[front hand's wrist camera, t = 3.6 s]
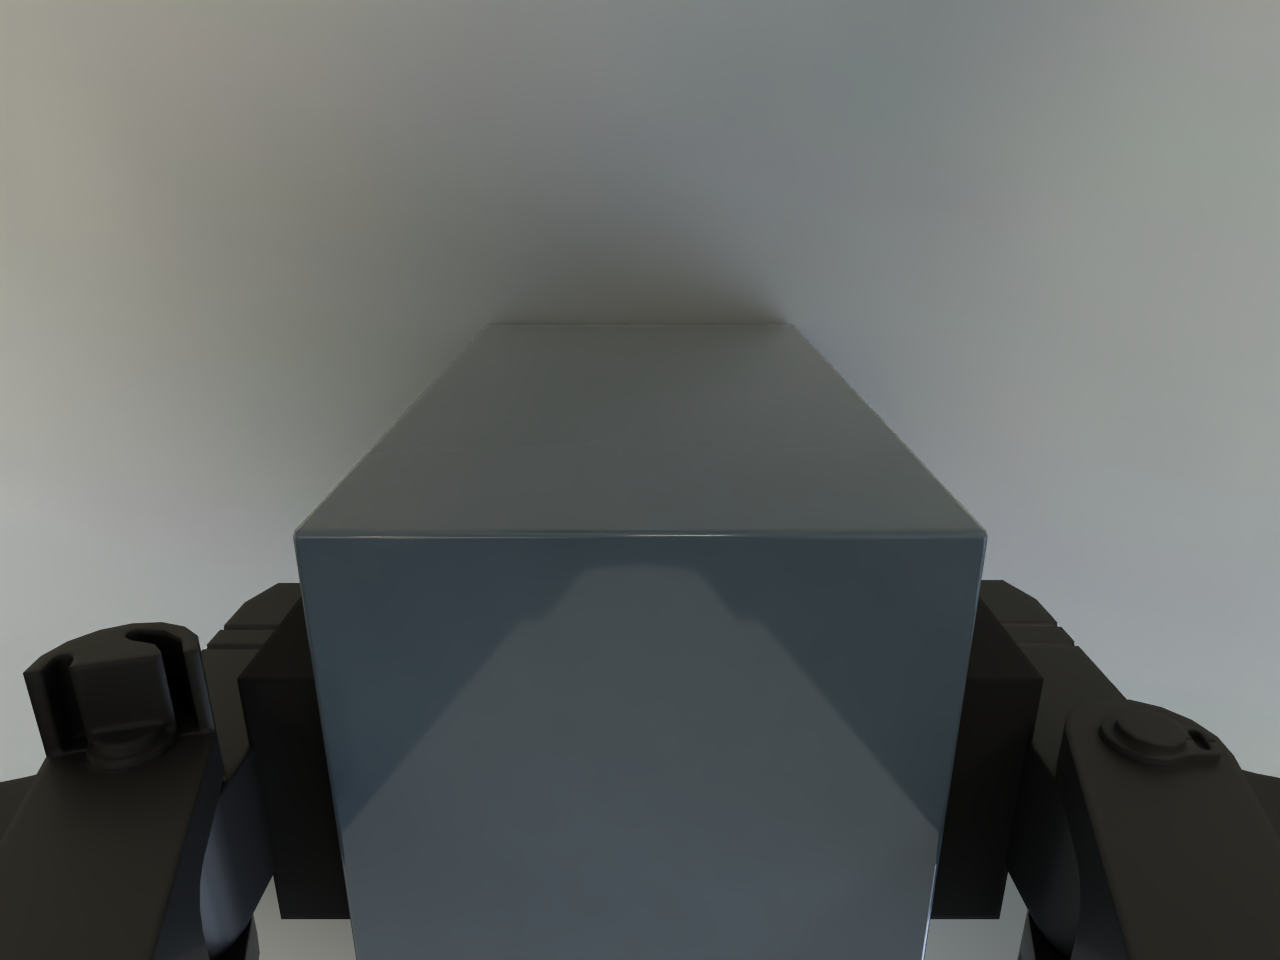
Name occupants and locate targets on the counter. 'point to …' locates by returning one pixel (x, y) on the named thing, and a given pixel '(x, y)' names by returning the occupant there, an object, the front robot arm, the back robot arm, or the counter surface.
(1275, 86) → the counter surface
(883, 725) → the brick
